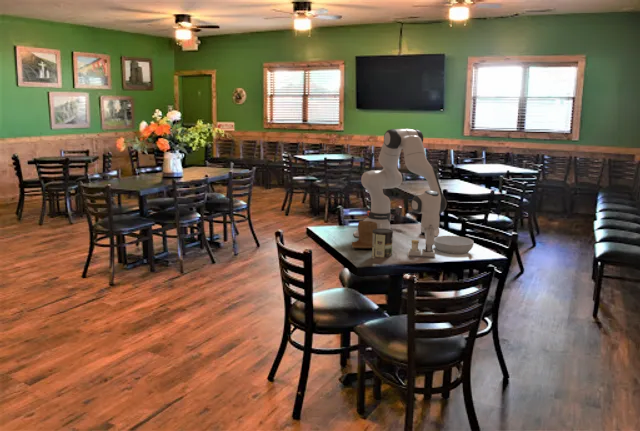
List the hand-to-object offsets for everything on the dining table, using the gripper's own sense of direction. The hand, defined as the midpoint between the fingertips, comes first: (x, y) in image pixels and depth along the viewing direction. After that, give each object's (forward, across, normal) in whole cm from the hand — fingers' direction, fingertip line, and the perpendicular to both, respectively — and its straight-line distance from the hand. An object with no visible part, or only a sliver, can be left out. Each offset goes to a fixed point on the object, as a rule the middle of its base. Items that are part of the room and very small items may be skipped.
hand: (428, 249), depth 286 cm
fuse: (+3, 0, +7) cm, 8 cm away
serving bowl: (+5, +15, -14) cm, 21 cm away
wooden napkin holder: (+5, +15, +34) cm, 37 cm away
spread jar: (+5, +55, -4) cm, 55 cm away
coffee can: (+5, -3, +24) cm, 24 cm away
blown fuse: (+3, 0, 0) cm, 3 cm away
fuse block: (+5, 0, +4) cm, 6 cm away
